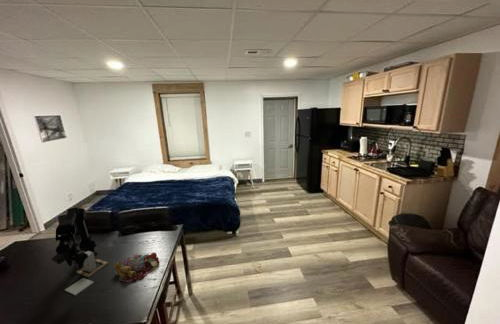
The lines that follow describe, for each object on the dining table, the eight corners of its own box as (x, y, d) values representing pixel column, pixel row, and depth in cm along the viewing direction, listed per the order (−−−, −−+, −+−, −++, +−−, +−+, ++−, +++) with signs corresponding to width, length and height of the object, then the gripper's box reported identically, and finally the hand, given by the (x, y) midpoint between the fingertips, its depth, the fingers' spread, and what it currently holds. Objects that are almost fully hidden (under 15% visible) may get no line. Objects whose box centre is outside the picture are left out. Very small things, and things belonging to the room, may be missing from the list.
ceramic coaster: (64, 290, 120) (64, 289, 120) (83, 278, 130) (83, 277, 129) (75, 295, 117) (75, 294, 117) (93, 282, 126) (93, 281, 126)
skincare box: (84, 270, 136) (80, 254, 134) (91, 266, 140) (87, 250, 138) (90, 272, 134) (86, 256, 132) (97, 268, 138) (93, 252, 136)
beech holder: (76, 272, 135) (76, 271, 134) (97, 260, 146) (96, 258, 146) (88, 277, 130) (87, 275, 130) (108, 264, 142) (108, 262, 142)
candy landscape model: (132, 288, 122) (129, 274, 120) (108, 276, 132) (105, 263, 130) (165, 261, 144) (163, 249, 142) (142, 253, 154) (140, 242, 152)
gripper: (42, 249, 113) (49, 273, 117) (62, 256, 107) (68, 282, 110) (66, 238, 124) (71, 260, 127) (85, 244, 117) (91, 268, 120)
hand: (75, 267), depth 121 cm, fingers open, 9 cm apart
